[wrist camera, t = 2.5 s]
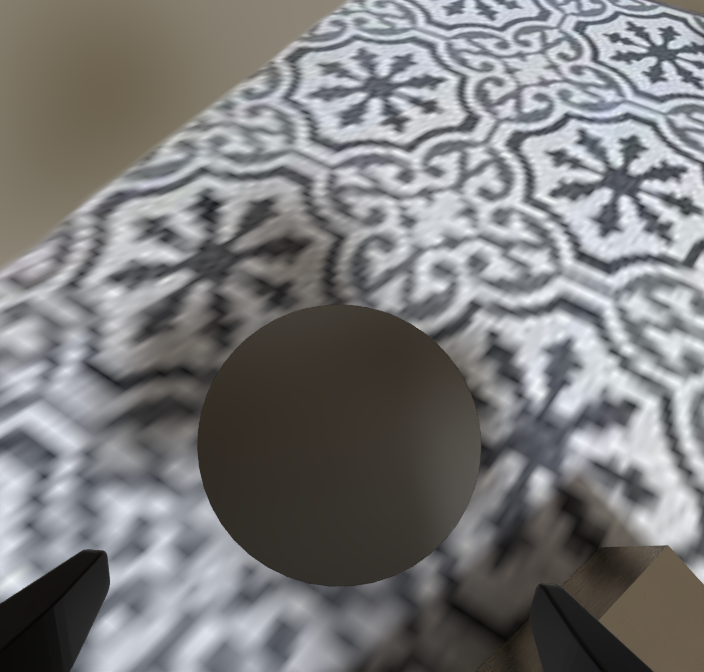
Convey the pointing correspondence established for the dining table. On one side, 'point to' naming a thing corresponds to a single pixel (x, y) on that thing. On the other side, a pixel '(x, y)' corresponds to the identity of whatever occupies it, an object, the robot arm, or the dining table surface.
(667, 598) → the grey square block
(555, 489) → the dining table surface
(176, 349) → the dining table surface
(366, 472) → the ash pin
